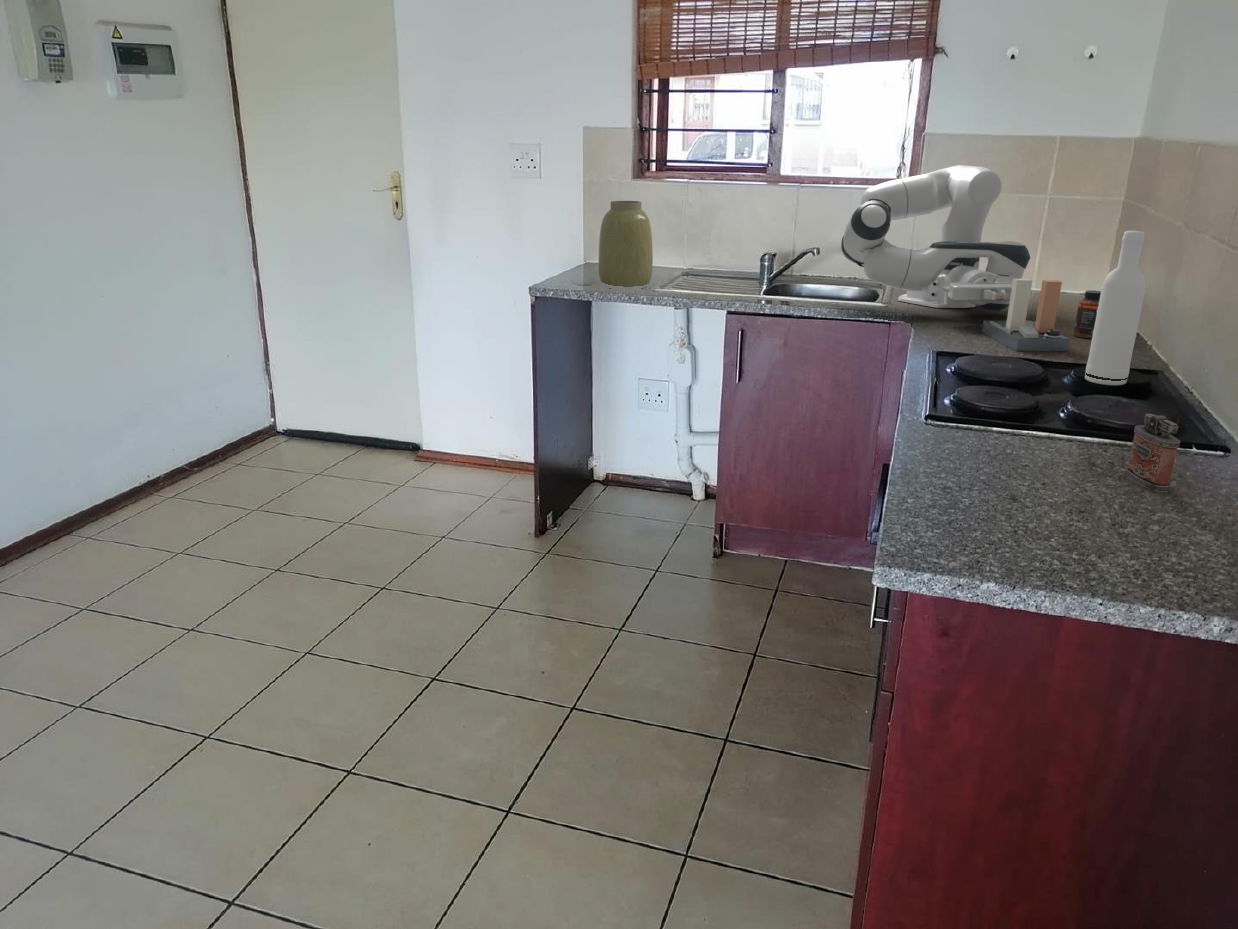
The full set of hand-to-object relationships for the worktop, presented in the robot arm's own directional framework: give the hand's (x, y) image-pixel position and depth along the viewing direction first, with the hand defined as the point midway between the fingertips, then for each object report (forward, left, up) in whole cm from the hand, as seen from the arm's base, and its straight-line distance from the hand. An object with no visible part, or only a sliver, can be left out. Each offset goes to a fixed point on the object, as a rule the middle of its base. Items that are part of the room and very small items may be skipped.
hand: (1000, 296), depth 228 cm
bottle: (+36, -30, -9) cm, 48 cm away
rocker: (+13, -13, -6) cm, 20 cm away
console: (+9, -5, -9) cm, 14 cm away
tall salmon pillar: (+14, -6, -6) cm, 16 cm away
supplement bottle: (+18, +12, -9) cm, 24 cm away
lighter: (+60, -87, -9) cm, 107 cm away
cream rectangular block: (+8, -9, -6) cm, 13 cm away
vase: (-112, -20, -9) cm, 114 cm away
